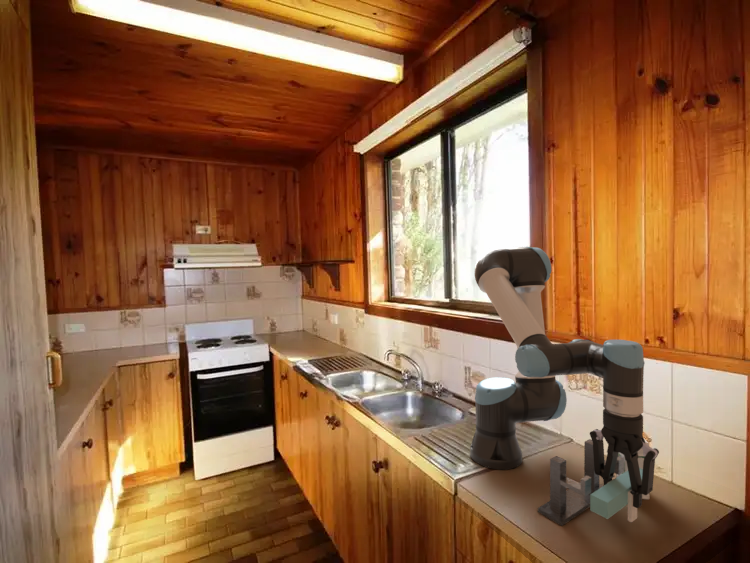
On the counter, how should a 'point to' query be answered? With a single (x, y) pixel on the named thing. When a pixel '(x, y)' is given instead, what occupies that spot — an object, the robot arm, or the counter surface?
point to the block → (611, 496)
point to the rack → (572, 487)
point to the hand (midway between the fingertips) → (622, 514)
